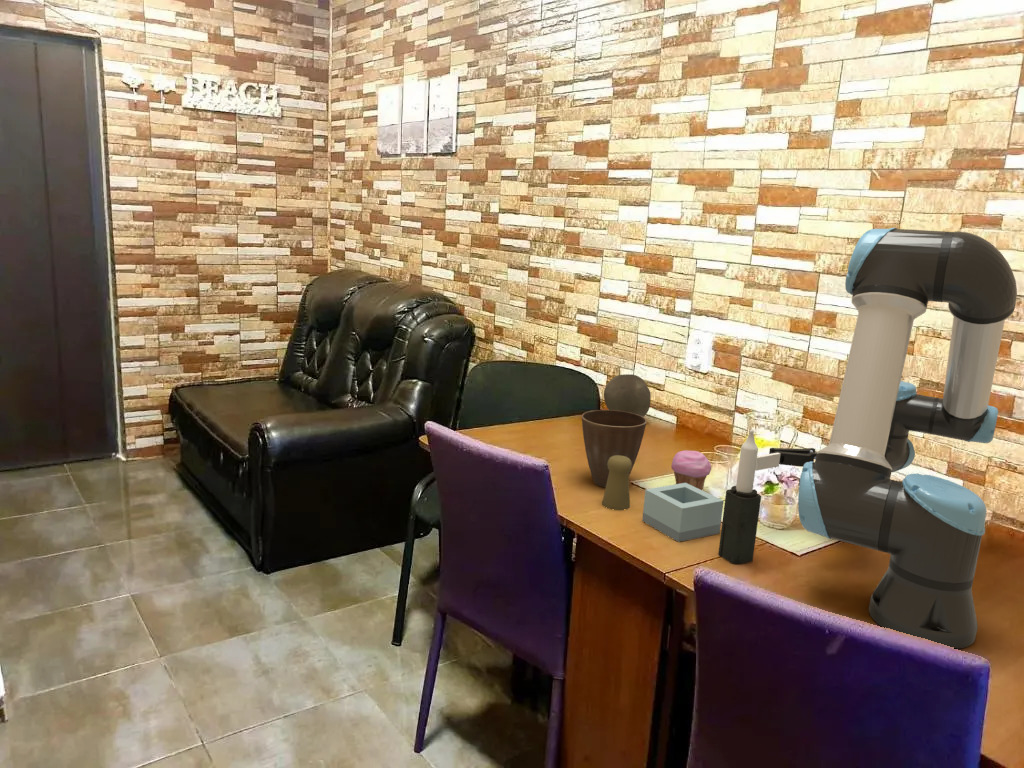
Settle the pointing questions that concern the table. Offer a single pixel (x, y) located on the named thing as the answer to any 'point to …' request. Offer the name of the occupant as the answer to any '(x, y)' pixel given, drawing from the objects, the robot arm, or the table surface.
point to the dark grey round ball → (627, 394)
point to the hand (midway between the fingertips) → (782, 474)
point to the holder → (682, 511)
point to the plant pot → (610, 439)
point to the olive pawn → (617, 483)
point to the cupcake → (691, 468)
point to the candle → (741, 509)
